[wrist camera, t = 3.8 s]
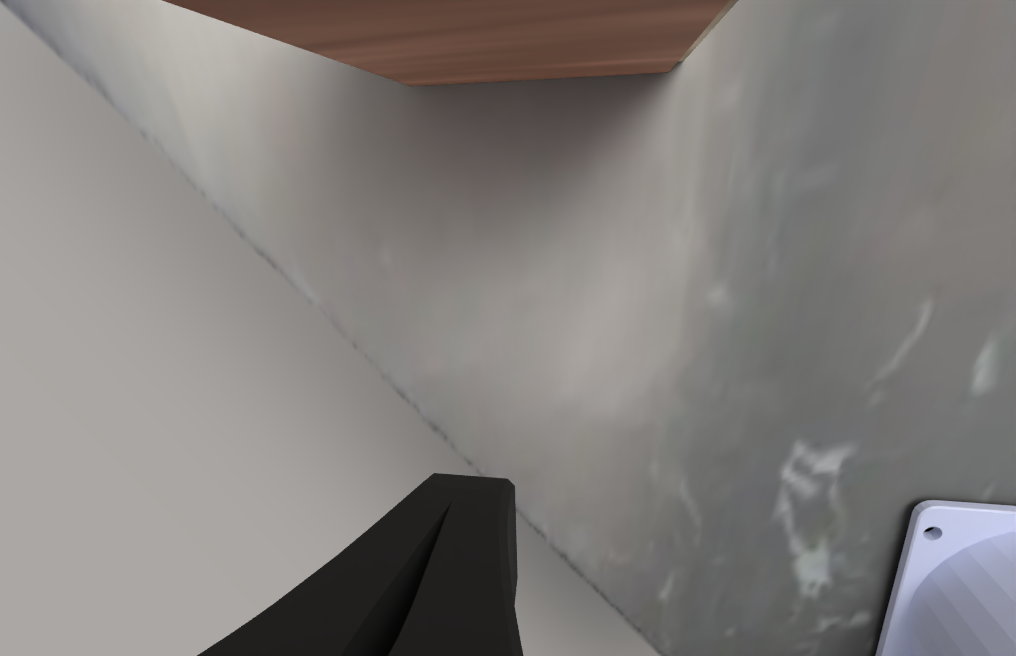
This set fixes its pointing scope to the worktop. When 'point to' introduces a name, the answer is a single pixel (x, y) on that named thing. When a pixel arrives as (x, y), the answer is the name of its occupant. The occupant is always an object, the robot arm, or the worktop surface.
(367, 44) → the marked block
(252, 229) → the worktop surface
